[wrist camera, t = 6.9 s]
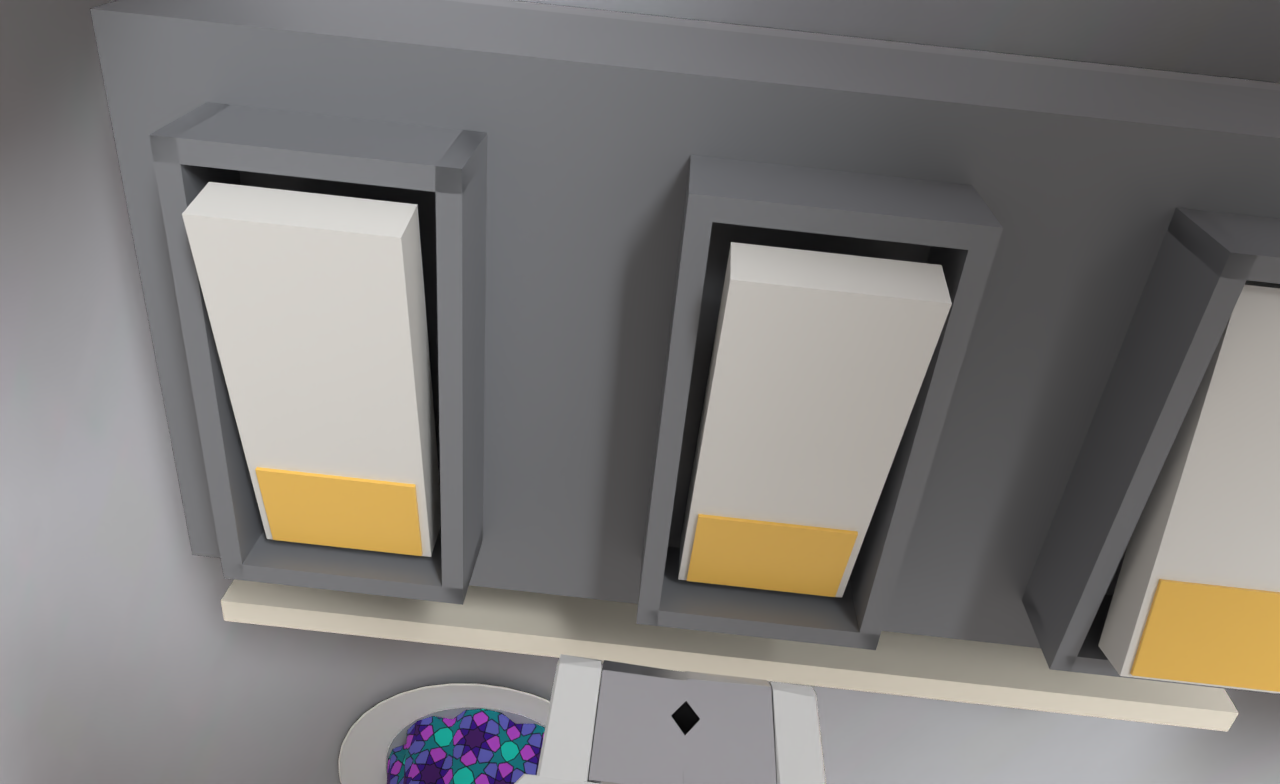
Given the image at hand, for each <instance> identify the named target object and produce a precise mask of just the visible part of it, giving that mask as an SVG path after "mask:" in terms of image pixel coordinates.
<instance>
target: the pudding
mask: <svg viewBox="0 0 1280 784" xmlns="http://www.w3.org/2000/svg"><path fill="white" fill-rule="evenodd" d="M549 704H550V701H548V700H546V699H543V698H541V697H538V696H536V695H533V694H529V693H526V692H522V691H518V690H514V689H510V688H506V687H499V686H492V685H484V684H458V683H450V684H442V685H434V686H425V687H421V688H418V689H414V690H410V691H406V692H403V693H400V694H397V695H395V696H393V697H391V698H389V699H386V700H384V701H382V702H380V703H378V704H377V705H376V706H374V707H373V708H371V709H370V710H368V711H367V712H366V713H364V714H363V715H362V716H361V717H360V718H359V719H358V720H357V721H356V722H355V724H354V725H353V726H352V727H351V728H350V730H349V731H348V733H347V735H346V737H345V739H344V741H343V743H342V746H341V750H340V755H339V759H338V765H339V778H340V782H341V784H514V783H515V782H516V781H517V780H518V779H519V778H520V777H521V776H522V775H523V774H531V775H537V770H538V765H539V759H540V754H541V748H542V743H543V737H544V732H545V728H544V727H542V726H539V725H537V724H515V723H514V722H512V721H511V720H510V719H509V718H507V717H506V716H505V715H504V714H502V713H500V712H495V711H491V710H486V709H475V710H465V711H464V712H462V713H461V714H460V715H458V716H457V717H455V718H454V719H447V718H441V717H435V716H432V717H429V718H425V719H422V720H419V721H417V722H416V723H415V724H414V725H412V726H411V727H410V728H409V729H408V731H407V743H406V744H405V745H402V746H400V747H397V748H395V749H393V750H392V752H391V754H390V756H389V758H388V768H387V772H386V757H387V754H388V750H389V747H390V745H391V744H392V742H393V740H394V738H395V737H396V736H397V735H398V734H399V733H400V732H401V731H402V730H403V729H404V728H405V727H406V726H408V725H409V724H411V723H412V722H414V721H415V720H417V719H419V718H422V717H424V716H426V715H429V714H431V713H435V712H439V711H443V710H447V709H456V708H488V709H495V710H502V711H506V712H510V713H514V714H517V715H521V716H523V717H526V718H528V719H531V720H533V721H536V722H538V723H540V724H542V725H543V726H546V721H547V715H548V710H549Z"/></svg>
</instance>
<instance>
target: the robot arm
mask: <svg viewBox="0 0 1280 784" xmlns="http://www.w3.org/2000/svg"><path fill="white" fill-rule="evenodd" d="M601 671H602V676H601ZM600 680H601V683H600ZM599 689H600V691H599ZM514 784H826V779H825V769H824V760H823V751H822V742H821V733H820V723H819V714H818V705H817V696H816V693H815V691H814V689H813V687H812V686H805V685H797V684H788V683H780V682H772V681H770V682H768V681H767V680H761V679H752V678H743V677H734V676H725V675H716V674H707V673H699V672H690V671H685V672H680V671H673V670H667V669H660V668H653V667H647V666H640V665H634V664H627V663H621V662H614V661H607V660H604V662H603V669H602V660H598V659H591V658H584V657H577V656H570V655H563V654H561V655H560V658H559V661H558V663H557V666H556V672H555V677H554V683H553V688H552V694H551V699H550V704H549V710H548V715H547V721H546V726H545V732H544V737H543V743H542V748H541V754H540V759H539V765H538V770H537V775H531V774H523V775H522V776H521V777H520V778H519V779H518V780H517V781H516V782H515V783H514Z"/></svg>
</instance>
